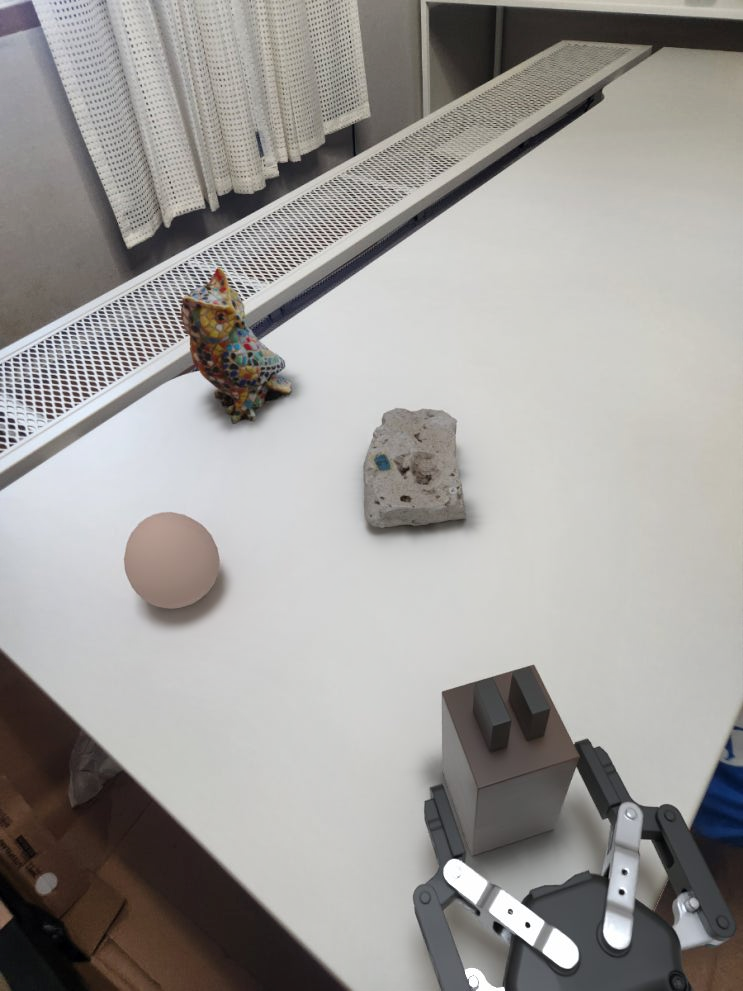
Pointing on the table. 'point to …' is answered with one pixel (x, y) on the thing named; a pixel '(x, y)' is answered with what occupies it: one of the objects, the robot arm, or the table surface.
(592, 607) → the table surface
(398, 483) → the stone
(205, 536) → the egg
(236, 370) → the figurine
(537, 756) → the knife block
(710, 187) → the table surface
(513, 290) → the table surface
